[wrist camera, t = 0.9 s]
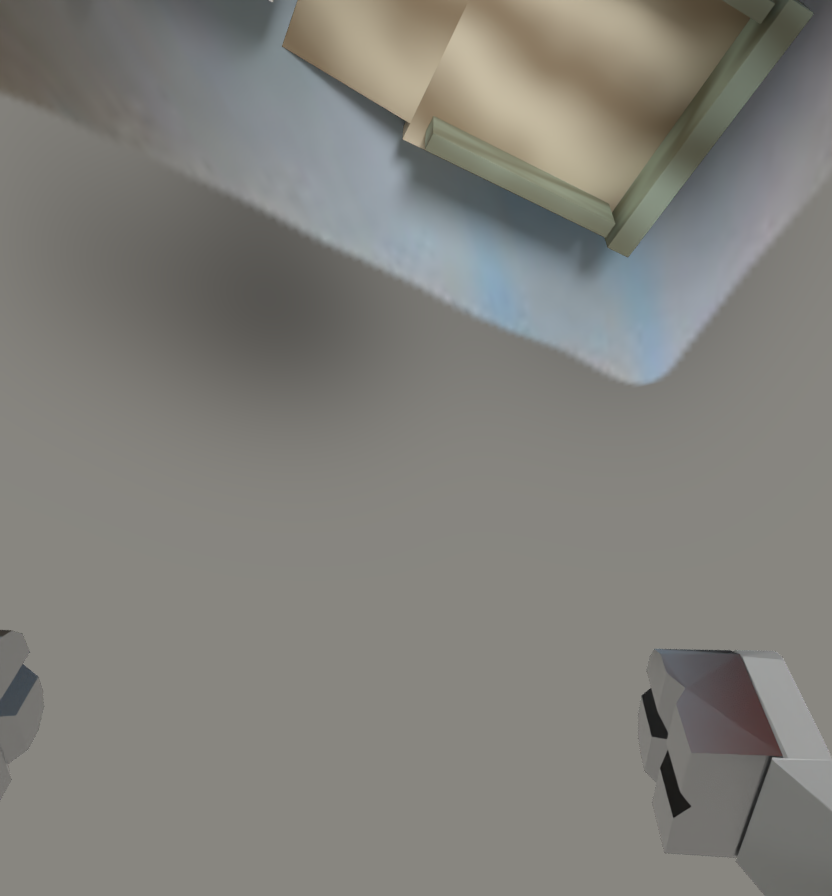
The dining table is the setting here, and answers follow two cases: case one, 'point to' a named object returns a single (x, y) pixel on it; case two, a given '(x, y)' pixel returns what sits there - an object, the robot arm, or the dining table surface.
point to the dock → (558, 89)
